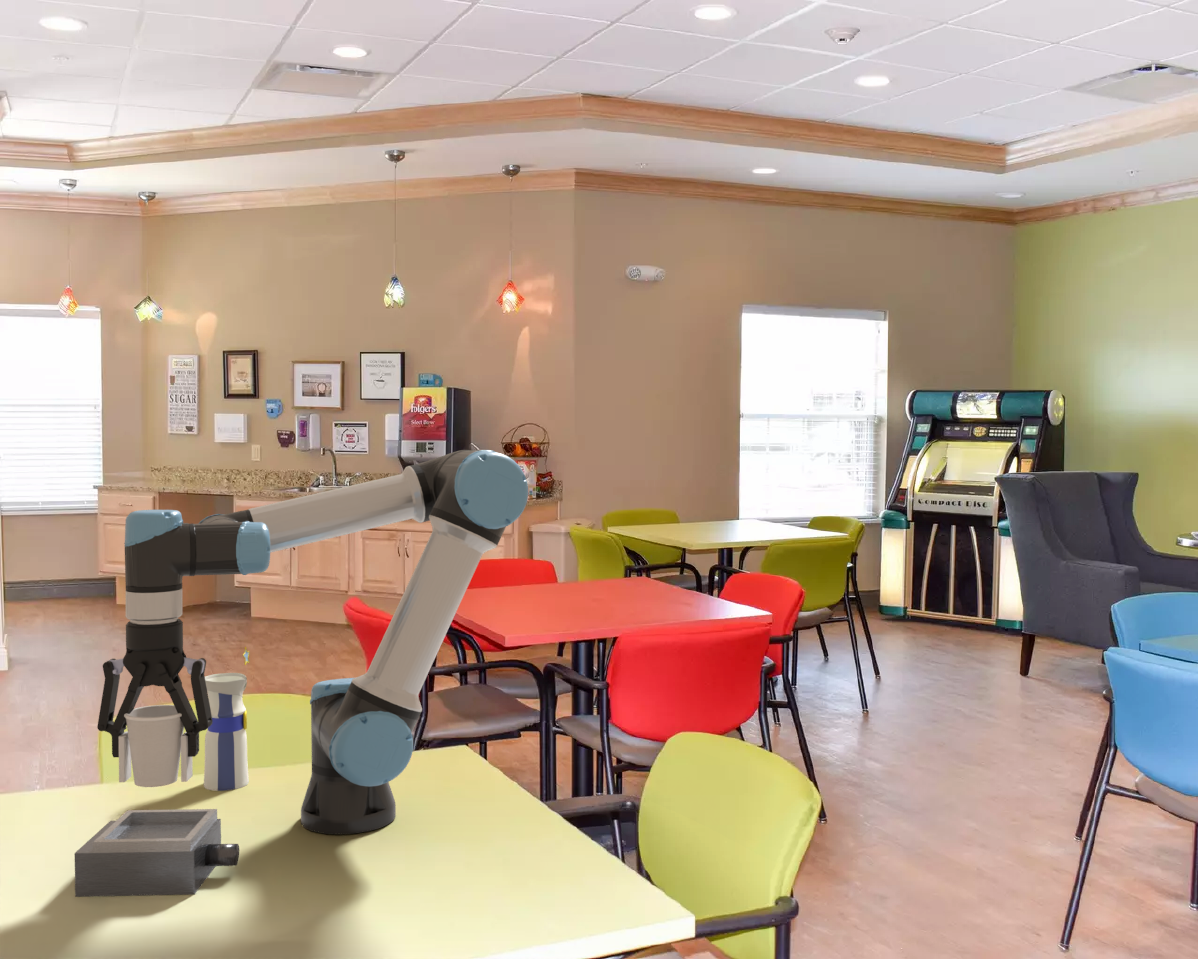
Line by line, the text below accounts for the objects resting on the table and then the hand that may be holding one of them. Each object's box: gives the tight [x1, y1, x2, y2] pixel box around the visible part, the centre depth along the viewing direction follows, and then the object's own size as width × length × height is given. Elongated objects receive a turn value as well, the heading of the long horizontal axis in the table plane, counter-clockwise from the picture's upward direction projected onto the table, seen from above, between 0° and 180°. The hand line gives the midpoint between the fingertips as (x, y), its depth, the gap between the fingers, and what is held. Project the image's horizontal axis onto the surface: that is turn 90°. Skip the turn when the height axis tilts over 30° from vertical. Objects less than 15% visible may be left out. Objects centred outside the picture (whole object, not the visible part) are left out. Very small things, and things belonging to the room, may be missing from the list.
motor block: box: [74, 808, 240, 898], centre depth 162 cm, size 20×13×8 cm, turn 93°
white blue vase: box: [203, 646, 250, 792], centre depth 204 cm, size 8×9×25 cm
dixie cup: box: [124, 704, 185, 788], centre depth 161 cm, size 8×8×10 cm
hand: (156, 778), depth 162 cm, fingers closed on dixie cup, 8 cm apart
